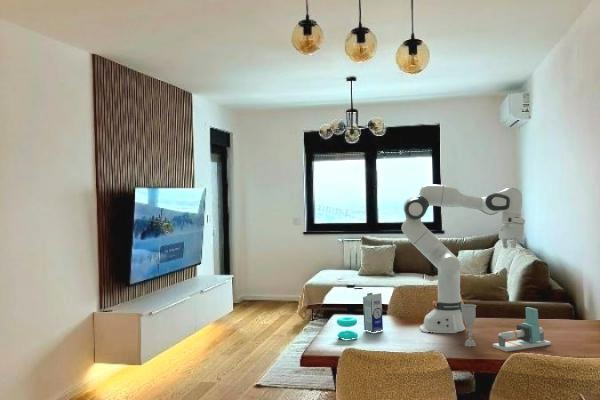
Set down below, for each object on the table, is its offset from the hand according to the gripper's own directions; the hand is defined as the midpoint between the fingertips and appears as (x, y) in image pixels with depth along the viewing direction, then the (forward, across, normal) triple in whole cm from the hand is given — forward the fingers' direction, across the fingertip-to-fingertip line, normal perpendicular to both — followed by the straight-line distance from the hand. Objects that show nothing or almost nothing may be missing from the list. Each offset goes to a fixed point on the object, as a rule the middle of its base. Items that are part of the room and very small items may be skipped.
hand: (509, 248), depth 274 cm
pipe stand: (+44, +23, -1) cm, 50 cm away
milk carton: (+50, -18, -60) cm, 80 cm away
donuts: (+54, -7, -74) cm, 92 cm away
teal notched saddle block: (+41, +22, +4) cm, 47 cm away
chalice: (+47, +17, -22) cm, 55 cm away
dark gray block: (+42, +23, 0) cm, 47 cm away
